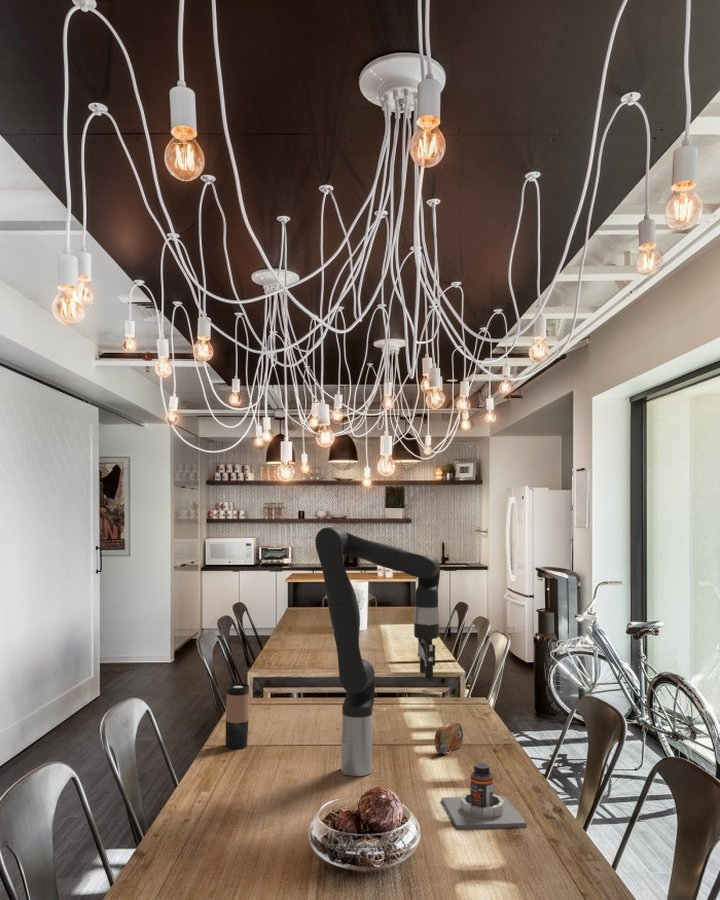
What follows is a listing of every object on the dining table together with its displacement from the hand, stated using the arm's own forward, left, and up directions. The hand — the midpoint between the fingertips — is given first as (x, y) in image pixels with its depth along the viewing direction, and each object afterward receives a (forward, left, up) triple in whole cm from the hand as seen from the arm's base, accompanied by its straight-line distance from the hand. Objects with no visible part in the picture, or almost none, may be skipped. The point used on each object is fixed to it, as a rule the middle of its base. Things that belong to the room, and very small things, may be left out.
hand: (426, 676), depth 220 cm
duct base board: (+10, -26, -30) cm, 41 cm away
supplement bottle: (+10, -26, -29) cm, 40 cm away
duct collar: (+10, -26, -30) cm, 41 cm away
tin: (+13, +26, -30) cm, 42 cm away
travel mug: (-58, +35, -30) cm, 74 cm away
